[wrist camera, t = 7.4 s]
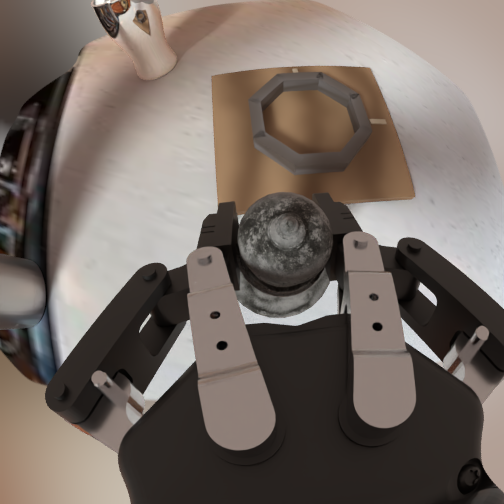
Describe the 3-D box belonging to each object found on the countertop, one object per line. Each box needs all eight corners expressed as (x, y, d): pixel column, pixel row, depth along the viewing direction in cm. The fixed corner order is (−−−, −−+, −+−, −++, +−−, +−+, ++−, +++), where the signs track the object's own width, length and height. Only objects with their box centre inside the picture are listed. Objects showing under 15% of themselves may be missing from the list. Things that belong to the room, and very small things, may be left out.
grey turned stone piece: (299, 326, 18) (352, 384, 6) (217, 290, 18) (130, 285, 6) (334, 244, 18) (424, 172, 6) (253, 210, 19) (230, 93, 7)
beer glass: (187, 66, 31) (152, -19, 16) (140, 90, 31) (90, 14, 16) (172, 44, 32) (140, -30, 17) (130, 66, 32) (87, -2, 17)
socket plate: (220, 217, 27) (214, 208, 24) (213, 81, 30) (208, 65, 27) (411, 199, 26) (423, 190, 23) (367, 72, 29) (373, 57, 26)
